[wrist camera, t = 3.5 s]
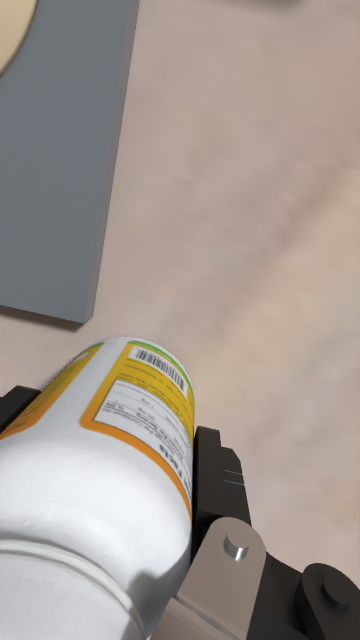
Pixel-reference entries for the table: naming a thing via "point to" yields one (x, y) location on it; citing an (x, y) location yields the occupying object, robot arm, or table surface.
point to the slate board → (59, 146)
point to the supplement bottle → (98, 497)
